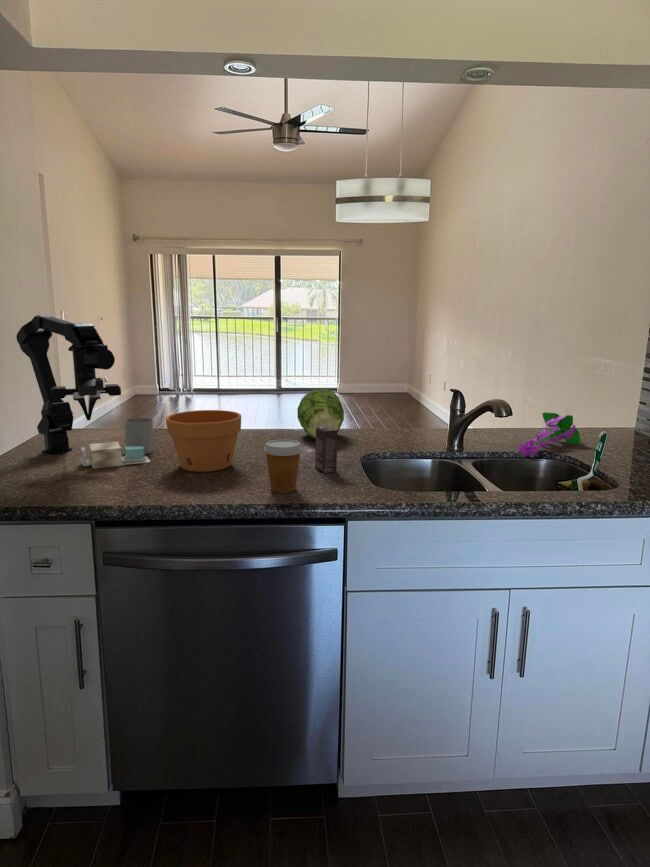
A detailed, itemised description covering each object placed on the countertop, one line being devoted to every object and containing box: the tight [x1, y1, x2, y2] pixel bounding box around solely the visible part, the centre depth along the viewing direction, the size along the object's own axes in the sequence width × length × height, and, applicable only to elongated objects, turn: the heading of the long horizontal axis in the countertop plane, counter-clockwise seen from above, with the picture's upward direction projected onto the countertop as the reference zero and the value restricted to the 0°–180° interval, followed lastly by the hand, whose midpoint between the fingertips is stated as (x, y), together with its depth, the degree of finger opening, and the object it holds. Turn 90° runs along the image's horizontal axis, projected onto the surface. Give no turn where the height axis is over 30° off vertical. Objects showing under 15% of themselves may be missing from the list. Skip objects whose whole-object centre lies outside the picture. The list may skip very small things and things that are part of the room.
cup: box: [124, 417, 155, 455], centre depth 184 cm, size 8×8×10 cm
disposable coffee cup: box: [263, 439, 303, 494], centre depth 147 cm, size 10×10×12 cm
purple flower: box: [518, 411, 581, 457], centre depth 194 cm, size 12×16×35 cm
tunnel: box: [88, 441, 123, 469], centre depth 170 cm, size 8×9×5 cm
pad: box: [122, 455, 151, 466], centre depth 174 cm, size 8×7×1 cm
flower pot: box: [165, 409, 242, 473], centre depth 168 cm, size 21×21×15 cm
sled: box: [80, 445, 146, 467], centre depth 171 cm, size 18×5×4 cm, turn 115°
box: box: [314, 427, 338, 474], centre depth 165 cm, size 6×4×12 cm
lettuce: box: [296, 388, 345, 440], centre depth 204 cm, size 17×23×16 cm
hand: (88, 420), depth 172 cm, fingers closed
